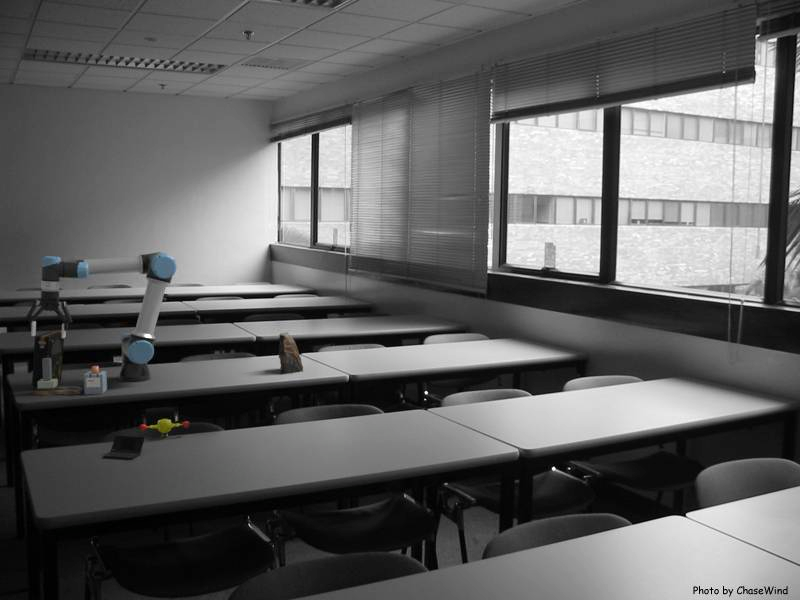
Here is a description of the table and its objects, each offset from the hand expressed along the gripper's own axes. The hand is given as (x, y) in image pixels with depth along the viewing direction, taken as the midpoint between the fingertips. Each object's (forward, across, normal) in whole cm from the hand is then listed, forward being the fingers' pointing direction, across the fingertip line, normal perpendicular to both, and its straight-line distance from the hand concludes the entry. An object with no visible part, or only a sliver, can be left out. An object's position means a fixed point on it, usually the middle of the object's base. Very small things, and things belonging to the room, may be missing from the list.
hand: (48, 336), depth 356 cm
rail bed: (+25, +6, -1) cm, 26 cm away
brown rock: (+18, +106, +51) cm, 119 cm away
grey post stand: (+23, +1, -2) cm, 23 cm away
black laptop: (+25, +65, -92) cm, 116 cm away
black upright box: (+26, -5, +13) cm, 29 cm away
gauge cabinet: (+24, +22, +1) cm, 33 cm away
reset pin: (+17, +22, +1) cm, 28 cm away
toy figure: (+24, +73, -70) cm, 104 cm away
